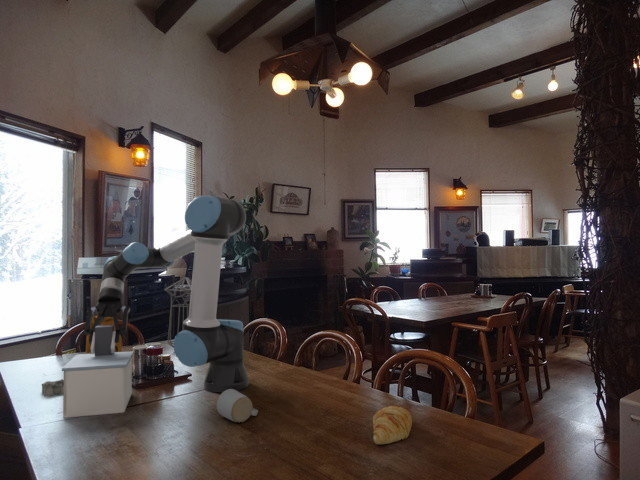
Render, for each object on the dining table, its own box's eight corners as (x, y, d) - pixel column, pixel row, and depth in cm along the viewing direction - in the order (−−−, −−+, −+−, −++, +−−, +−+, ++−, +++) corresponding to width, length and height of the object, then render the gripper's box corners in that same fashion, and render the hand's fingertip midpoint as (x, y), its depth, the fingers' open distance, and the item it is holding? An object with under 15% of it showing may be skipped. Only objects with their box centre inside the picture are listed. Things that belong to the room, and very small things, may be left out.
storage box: (77, 398, 148) (78, 357, 148) (131, 394, 152) (131, 354, 152) (63, 417, 130) (63, 371, 131) (124, 412, 135) (124, 367, 135)
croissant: (388, 465, 108) (403, 438, 107) (353, 438, 113) (367, 411, 111) (414, 432, 127) (428, 408, 125) (384, 410, 131) (396, 387, 130)
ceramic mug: (231, 427, 123) (232, 397, 124) (215, 419, 129) (216, 391, 129) (264, 417, 131) (264, 390, 131) (247, 410, 136) (247, 384, 137)
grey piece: (43, 397, 150) (43, 385, 150) (40, 392, 156) (40, 379, 156) (80, 391, 156) (80, 379, 156) (76, 386, 162) (76, 374, 162)
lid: (76, 356, 148) (76, 326, 148) (133, 353, 153) (133, 323, 153) (61, 371, 131) (62, 336, 131) (126, 366, 135) (126, 333, 135)
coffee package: (125, 367, 187) (126, 313, 188) (99, 375, 176) (100, 317, 177) (108, 365, 192) (109, 311, 192) (81, 372, 180) (82, 315, 181)
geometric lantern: (162, 354, 211) (162, 277, 213) (178, 348, 226) (178, 277, 228) (194, 355, 208) (194, 277, 210) (208, 349, 224) (208, 276, 226)
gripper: (139, 300, 166) (134, 356, 150) (84, 301, 161) (72, 359, 145) (138, 286, 161) (132, 342, 145) (81, 287, 156) (68, 346, 140)
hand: (102, 351), depth 145 cm, fingers closed on lid, 5 cm apart
